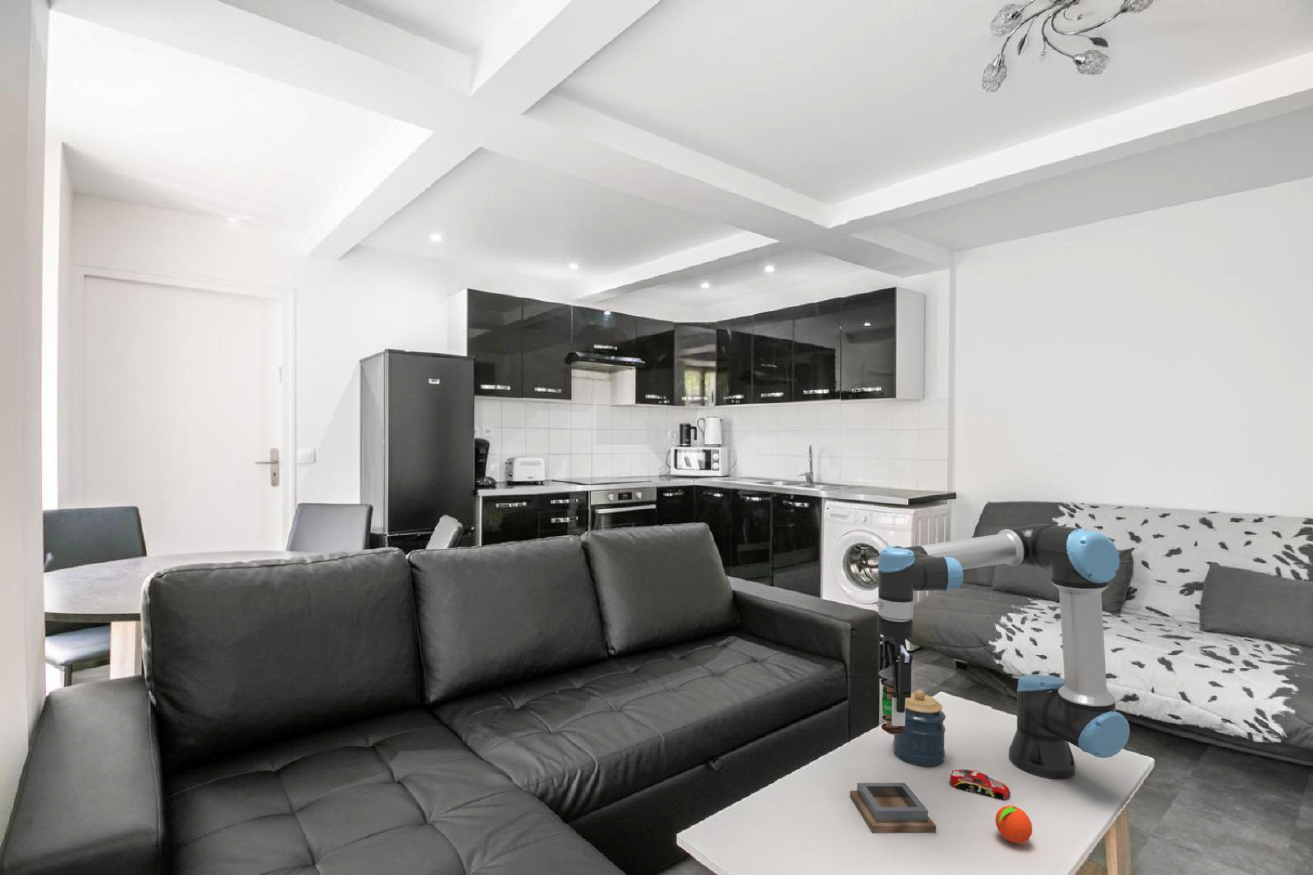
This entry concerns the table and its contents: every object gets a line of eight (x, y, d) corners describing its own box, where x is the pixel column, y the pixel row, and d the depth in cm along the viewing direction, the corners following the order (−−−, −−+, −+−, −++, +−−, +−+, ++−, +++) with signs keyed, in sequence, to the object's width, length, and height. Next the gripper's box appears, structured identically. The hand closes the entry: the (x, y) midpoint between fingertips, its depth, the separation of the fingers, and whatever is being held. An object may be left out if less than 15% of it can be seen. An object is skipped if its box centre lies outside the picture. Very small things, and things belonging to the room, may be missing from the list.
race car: (1010, 793, 155) (1010, 777, 155) (1010, 804, 151) (1010, 787, 151) (950, 778, 162) (951, 762, 162) (948, 788, 157) (949, 772, 157)
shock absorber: (873, 732, 145) (874, 666, 145) (883, 723, 150) (885, 659, 150) (901, 741, 141) (903, 673, 141) (911, 732, 145) (912, 666, 146)
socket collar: (904, 793, 151) (905, 782, 151) (927, 822, 139) (928, 810, 139) (857, 793, 150) (857, 782, 150) (876, 822, 139) (876, 811, 139)
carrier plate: (907, 796, 152) (907, 790, 152) (936, 832, 138) (936, 825, 138) (849, 796, 152) (850, 790, 152) (872, 833, 138) (872, 826, 138)
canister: (948, 752, 175) (949, 688, 175) (940, 772, 164) (941, 704, 164) (898, 740, 182) (899, 677, 182) (888, 758, 171) (889, 692, 171)
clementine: (1013, 855, 131) (1014, 820, 131) (984, 836, 138) (984, 802, 138) (1039, 846, 134) (1040, 812, 134) (1009, 827, 141) (1010, 795, 141)
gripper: (864, 606, 154) (861, 703, 154) (895, 628, 136) (893, 738, 136) (894, 607, 154) (892, 703, 154) (930, 629, 136) (927, 738, 136)
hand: (892, 719), depth 145 cm, fingers closed on shock absorber, 5 cm apart
